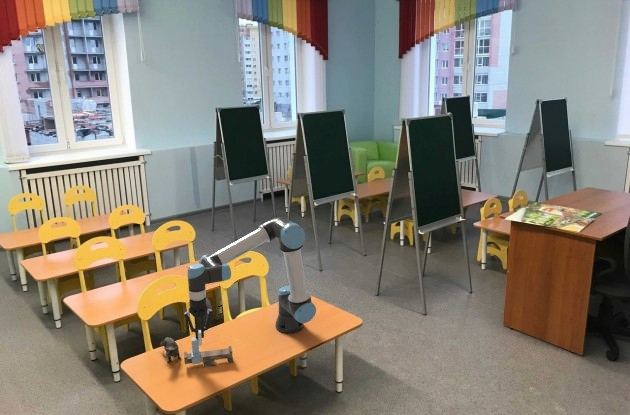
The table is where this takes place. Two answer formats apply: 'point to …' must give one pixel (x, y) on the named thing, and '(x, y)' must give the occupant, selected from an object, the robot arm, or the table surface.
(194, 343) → the rider
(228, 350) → the beam
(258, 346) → the table surface
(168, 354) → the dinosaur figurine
